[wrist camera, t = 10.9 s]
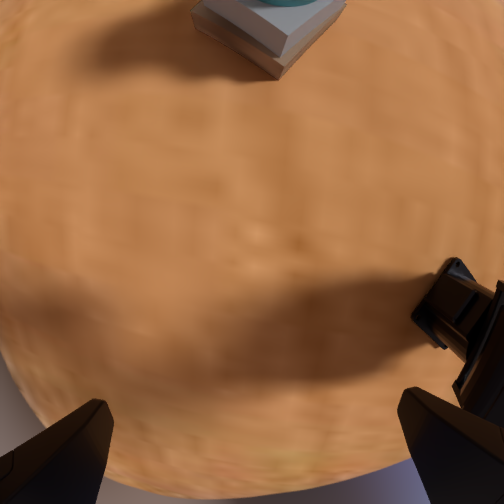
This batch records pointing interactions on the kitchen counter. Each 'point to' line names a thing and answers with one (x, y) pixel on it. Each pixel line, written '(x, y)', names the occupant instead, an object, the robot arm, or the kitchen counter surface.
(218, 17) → the tower base
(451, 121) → the kitchen counter surface
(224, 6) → the tower top
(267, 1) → the teal domed cylinder
